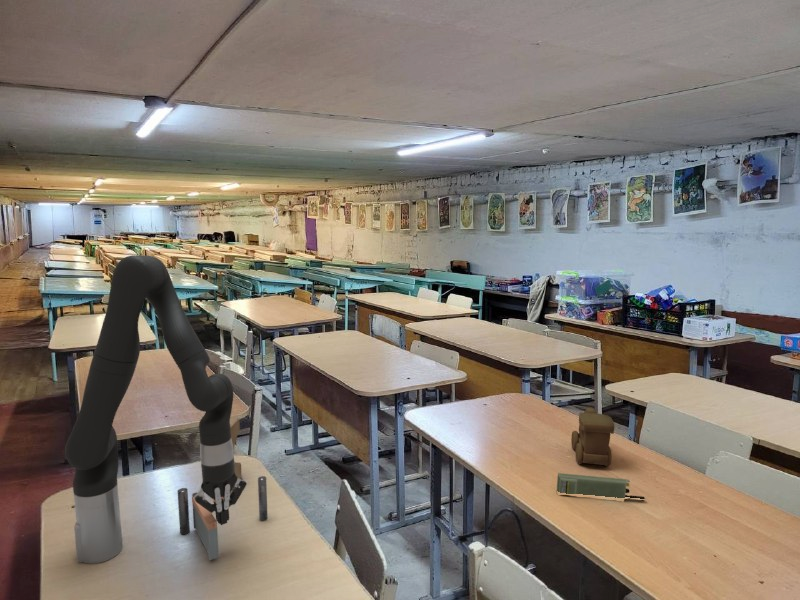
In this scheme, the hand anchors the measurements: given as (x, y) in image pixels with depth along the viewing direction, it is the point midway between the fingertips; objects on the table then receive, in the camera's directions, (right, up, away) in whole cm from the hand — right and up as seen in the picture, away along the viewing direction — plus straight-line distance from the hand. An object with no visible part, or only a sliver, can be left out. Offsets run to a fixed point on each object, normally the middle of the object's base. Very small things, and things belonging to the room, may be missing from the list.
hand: (222, 522), depth 129 cm
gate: (-6, -6, +3) cm, 9 cm away
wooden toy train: (+110, -1, +54) cm, 122 cm away
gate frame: (-3, -6, +12) cm, 14 cm away
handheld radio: (+104, -5, +28) cm, 108 cm away
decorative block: (-10, -2, +33) cm, 34 cm away
